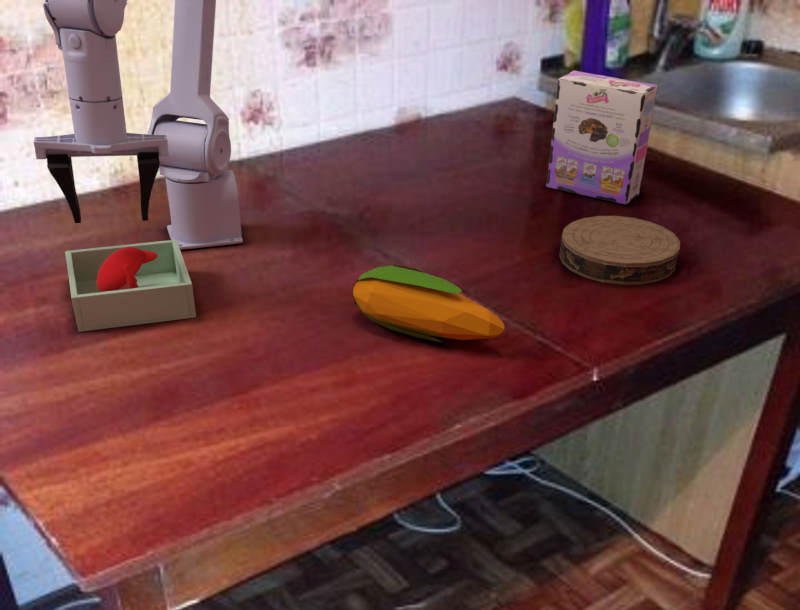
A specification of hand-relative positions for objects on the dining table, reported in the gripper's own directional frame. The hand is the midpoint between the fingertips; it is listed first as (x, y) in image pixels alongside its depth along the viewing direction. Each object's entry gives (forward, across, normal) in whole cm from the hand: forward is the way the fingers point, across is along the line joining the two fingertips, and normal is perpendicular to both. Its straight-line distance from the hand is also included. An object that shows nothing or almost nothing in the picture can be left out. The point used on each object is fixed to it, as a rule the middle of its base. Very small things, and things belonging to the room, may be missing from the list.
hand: (111, 219), depth 117 cm
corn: (+10, +35, -16) cm, 40 cm away
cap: (+10, +1, 0) cm, 10 cm away
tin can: (+8, +66, 0) cm, 67 cm away
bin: (+10, +1, 0) cm, 10 cm away
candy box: (+6, +73, +24) cm, 77 cm away
